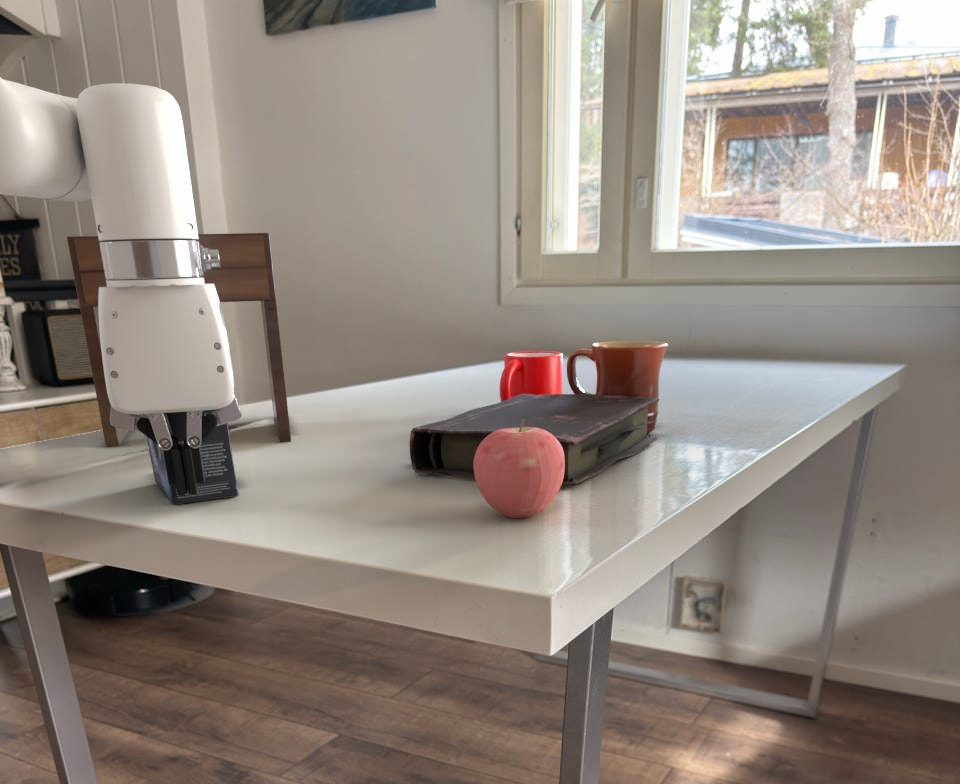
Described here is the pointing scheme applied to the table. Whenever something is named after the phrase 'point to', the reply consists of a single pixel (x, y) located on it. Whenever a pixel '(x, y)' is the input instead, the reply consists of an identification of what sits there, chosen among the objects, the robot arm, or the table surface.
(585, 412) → the diary
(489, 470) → the apple
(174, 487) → the small box
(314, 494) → the table surface
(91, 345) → the brown wooden stand
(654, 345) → the mug
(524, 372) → the mug
